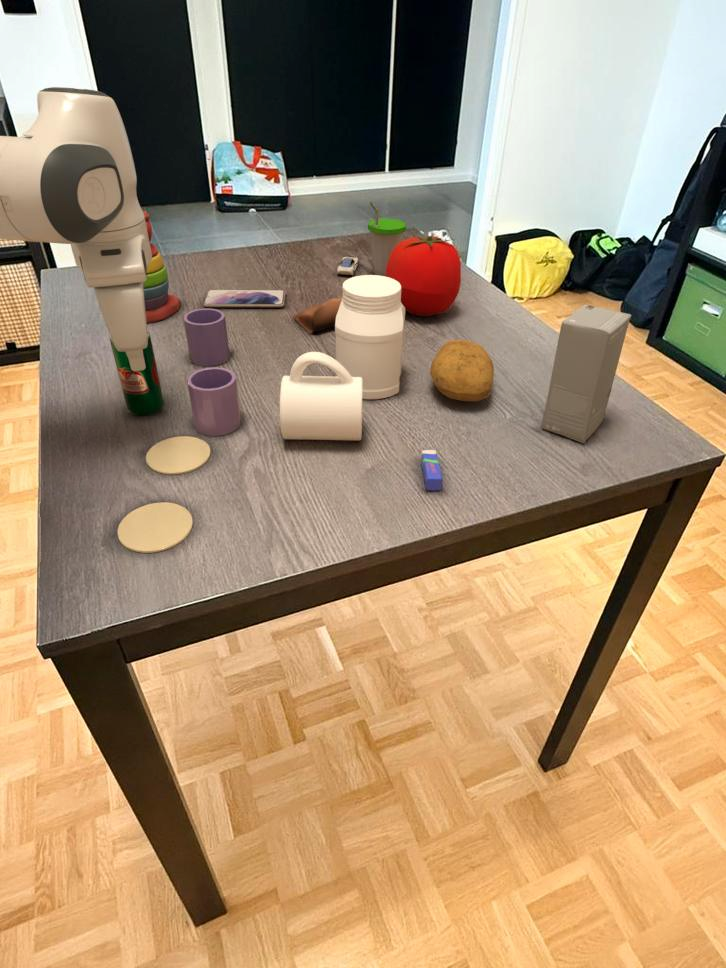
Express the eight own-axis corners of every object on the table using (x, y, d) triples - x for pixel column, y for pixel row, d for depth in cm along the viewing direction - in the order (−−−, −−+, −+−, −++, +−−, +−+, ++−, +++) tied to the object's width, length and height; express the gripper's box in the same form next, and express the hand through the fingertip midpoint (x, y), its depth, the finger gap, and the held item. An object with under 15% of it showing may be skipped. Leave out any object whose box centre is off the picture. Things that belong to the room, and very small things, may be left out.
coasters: (119, 560, 65) (119, 558, 65) (111, 449, 80) (111, 447, 80) (234, 535, 68) (234, 533, 68) (205, 433, 84) (205, 431, 83)
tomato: (454, 329, 111) (464, 251, 103) (378, 322, 113) (381, 245, 104) (459, 296, 123) (468, 224, 115) (390, 290, 125) (394, 219, 116)
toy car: (361, 259, 139) (361, 247, 137) (352, 278, 130) (353, 265, 128) (345, 258, 139) (345, 246, 138) (336, 276, 130) (335, 264, 129)
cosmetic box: (583, 445, 83) (616, 336, 73) (534, 427, 87) (559, 319, 77) (605, 419, 89) (638, 313, 79) (558, 402, 92) (584, 299, 82)
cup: (401, 268, 135) (405, 194, 126) (405, 281, 129) (410, 204, 120) (365, 268, 135) (367, 193, 125) (367, 281, 129) (369, 204, 119)
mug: (361, 452, 81) (363, 370, 73) (281, 451, 81) (275, 368, 73) (361, 418, 87) (363, 339, 80) (287, 417, 87) (282, 337, 80)
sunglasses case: (370, 296, 121) (382, 272, 115) (388, 324, 119) (401, 302, 114) (290, 316, 113) (298, 292, 107) (307, 347, 111) (317, 324, 105)
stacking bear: (182, 301, 118) (165, 202, 107) (173, 323, 110) (154, 219, 99) (124, 301, 118) (101, 201, 106) (111, 324, 110) (85, 218, 99)
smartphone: (283, 304, 116) (202, 304, 115) (284, 308, 117) (203, 308, 116) (285, 289, 121) (208, 289, 121) (285, 293, 122) (208, 293, 121)
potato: (424, 409, 90) (428, 366, 85) (432, 368, 100) (436, 327, 95) (489, 416, 89) (496, 373, 84) (490, 374, 98) (497, 333, 94)
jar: (397, 402, 91) (404, 303, 82) (332, 397, 92) (332, 299, 82) (402, 365, 100) (408, 272, 91) (343, 361, 101) (343, 268, 91)
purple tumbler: (198, 439, 82) (190, 393, 78) (192, 415, 87) (184, 370, 83) (244, 431, 84) (239, 386, 80) (236, 408, 89) (230, 364, 84)
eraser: (435, 462, 80) (437, 449, 78) (441, 491, 75) (442, 478, 74) (420, 461, 80) (421, 449, 78) (424, 491, 75) (426, 478, 74)
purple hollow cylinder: (193, 368, 98) (186, 326, 93) (188, 351, 102) (181, 310, 98) (232, 363, 99) (227, 321, 95) (225, 346, 104) (220, 306, 100)
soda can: (120, 414, 87) (99, 334, 79) (140, 396, 91) (122, 318, 83) (152, 420, 86) (134, 340, 78) (171, 402, 90) (156, 324, 82)
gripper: (83, 223, 81) (108, 323, 90) (83, 278, 66) (114, 392, 75) (133, 219, 83) (154, 317, 91) (145, 272, 68) (168, 384, 76)
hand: (136, 351), depth 83 cm, fingers open, 8 cm apart
